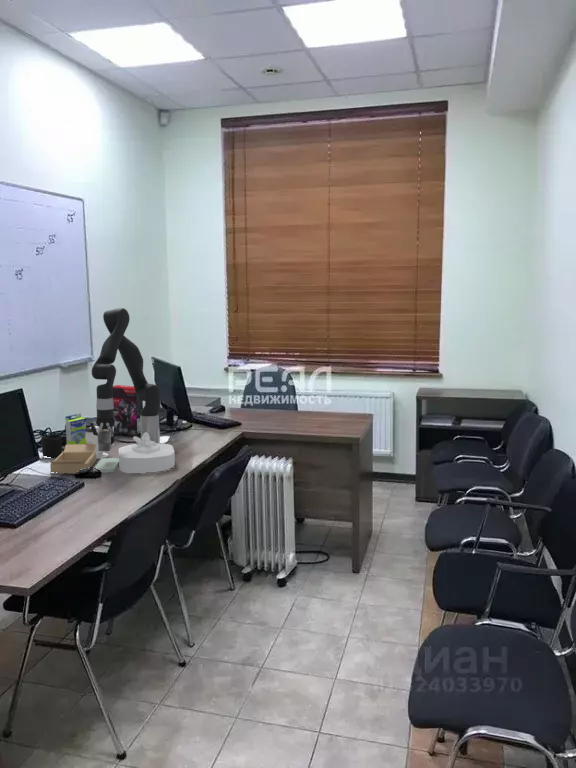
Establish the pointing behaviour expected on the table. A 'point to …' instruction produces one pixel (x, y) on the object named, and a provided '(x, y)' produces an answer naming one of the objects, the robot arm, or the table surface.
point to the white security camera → (94, 442)
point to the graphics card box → (127, 410)
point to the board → (107, 464)
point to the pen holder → (52, 445)
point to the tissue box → (146, 456)
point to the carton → (74, 458)
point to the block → (104, 440)
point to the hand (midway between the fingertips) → (106, 443)
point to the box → (75, 429)
